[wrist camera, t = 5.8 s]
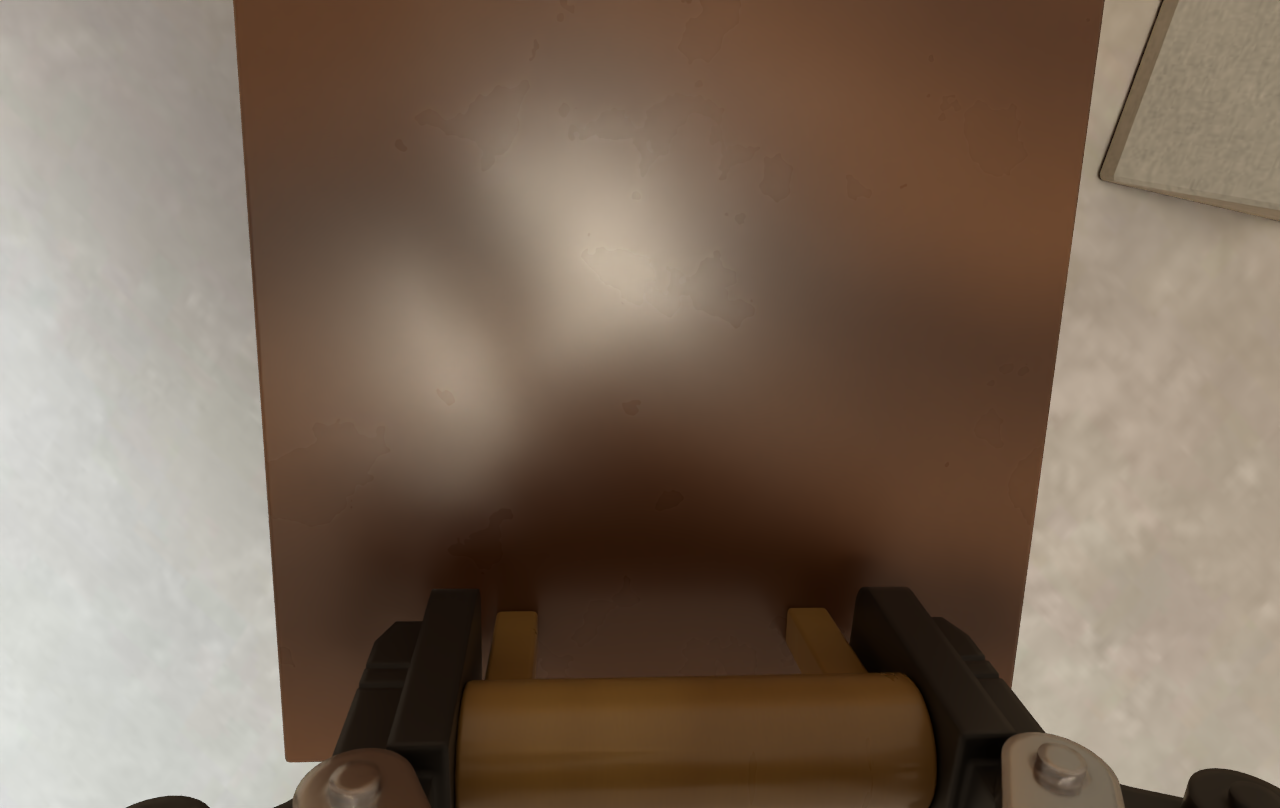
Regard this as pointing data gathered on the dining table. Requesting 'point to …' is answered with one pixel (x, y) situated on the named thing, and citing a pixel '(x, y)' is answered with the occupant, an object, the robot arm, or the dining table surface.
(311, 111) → the lid
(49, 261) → the dining table surface
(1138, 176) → the barrier
